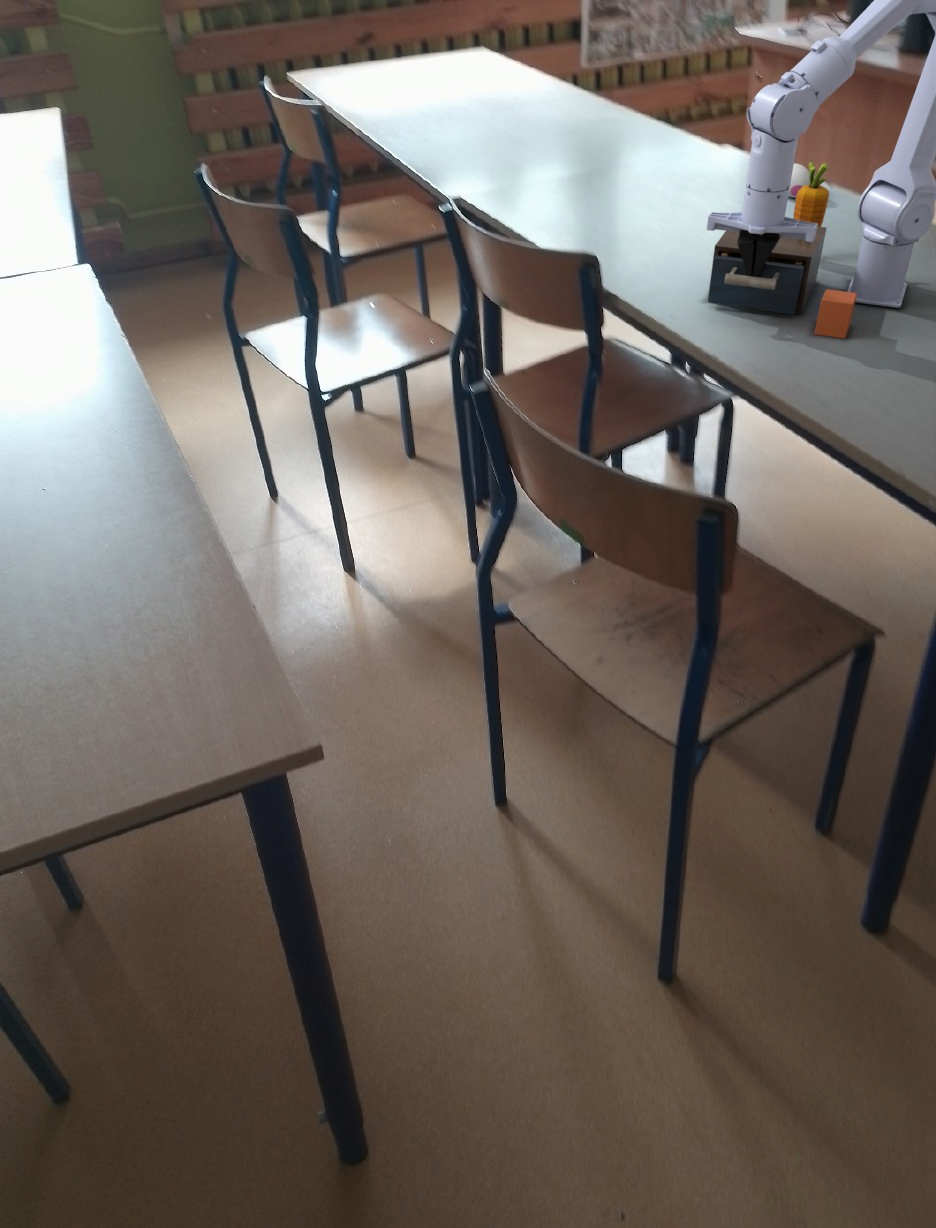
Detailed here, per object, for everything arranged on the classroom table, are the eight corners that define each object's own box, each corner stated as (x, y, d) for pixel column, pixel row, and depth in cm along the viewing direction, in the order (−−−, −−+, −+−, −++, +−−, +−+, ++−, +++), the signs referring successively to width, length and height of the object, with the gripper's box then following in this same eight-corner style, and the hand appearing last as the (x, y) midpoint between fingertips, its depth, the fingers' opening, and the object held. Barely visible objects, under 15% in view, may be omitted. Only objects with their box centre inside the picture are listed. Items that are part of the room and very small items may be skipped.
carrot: (783, 253, 164) (800, 157, 154) (814, 254, 163) (833, 157, 154) (787, 264, 160) (804, 166, 150) (818, 264, 159) (837, 166, 150)
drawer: (788, 327, 139) (797, 280, 135) (700, 314, 143) (706, 269, 139) (809, 284, 151) (817, 240, 147) (727, 273, 155) (733, 230, 151)
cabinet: (800, 314, 144) (811, 257, 139) (707, 301, 149) (714, 245, 144) (815, 282, 154) (826, 227, 148) (727, 271, 158) (735, 217, 153)
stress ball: (806, 218, 187) (831, 186, 184) (780, 198, 182) (804, 164, 179) (786, 205, 192) (809, 173, 189) (760, 184, 188) (783, 152, 185)
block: (819, 323, 142) (826, 289, 139) (849, 327, 141) (857, 293, 137) (814, 334, 139) (821, 299, 136) (845, 338, 138) (853, 304, 134)
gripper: (706, 189, 132) (694, 288, 140) (818, 200, 127) (798, 303, 135) (719, 174, 137) (706, 271, 145) (827, 185, 132) (807, 284, 140)
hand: (751, 285), depth 141 cm, fingers closed
